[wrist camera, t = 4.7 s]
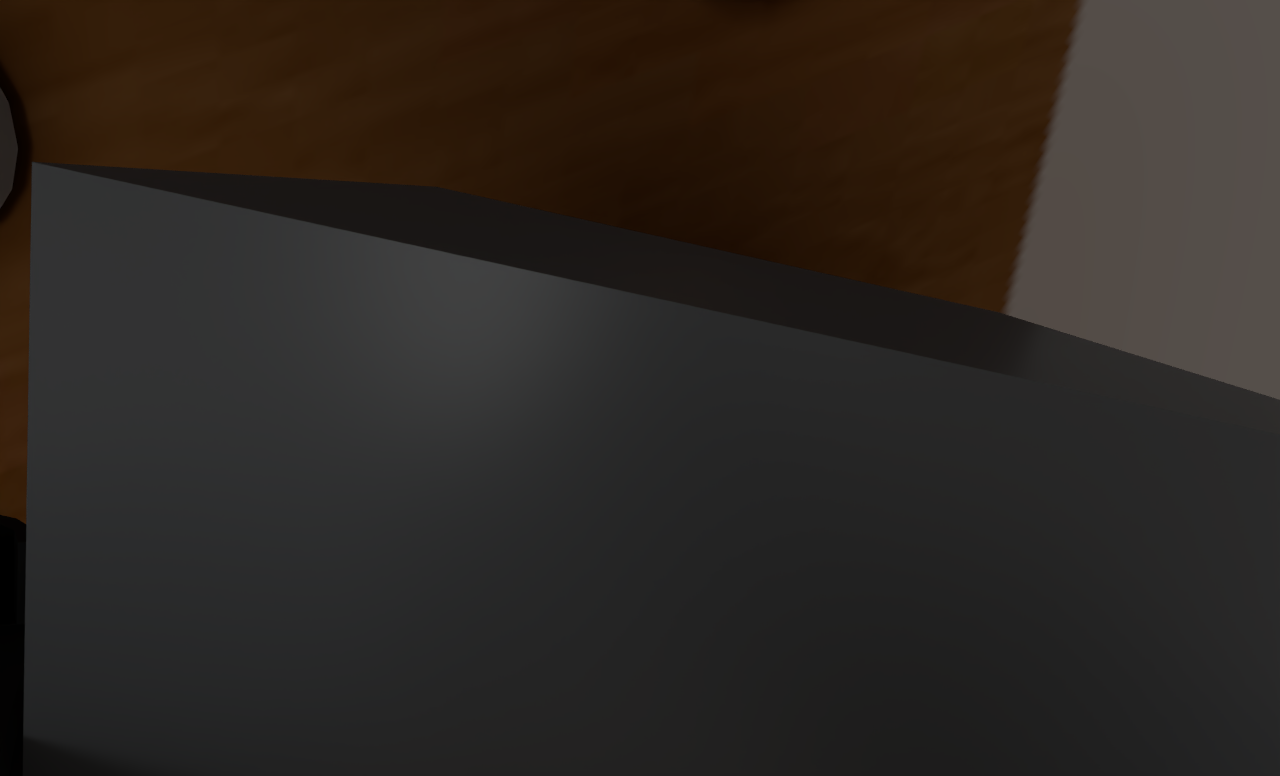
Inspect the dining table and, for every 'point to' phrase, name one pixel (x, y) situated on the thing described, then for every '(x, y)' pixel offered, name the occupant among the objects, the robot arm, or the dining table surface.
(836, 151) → the dining table surface
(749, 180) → the dining table surface
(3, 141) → the supplement can
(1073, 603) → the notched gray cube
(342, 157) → the dining table surface
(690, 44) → the dining table surface
